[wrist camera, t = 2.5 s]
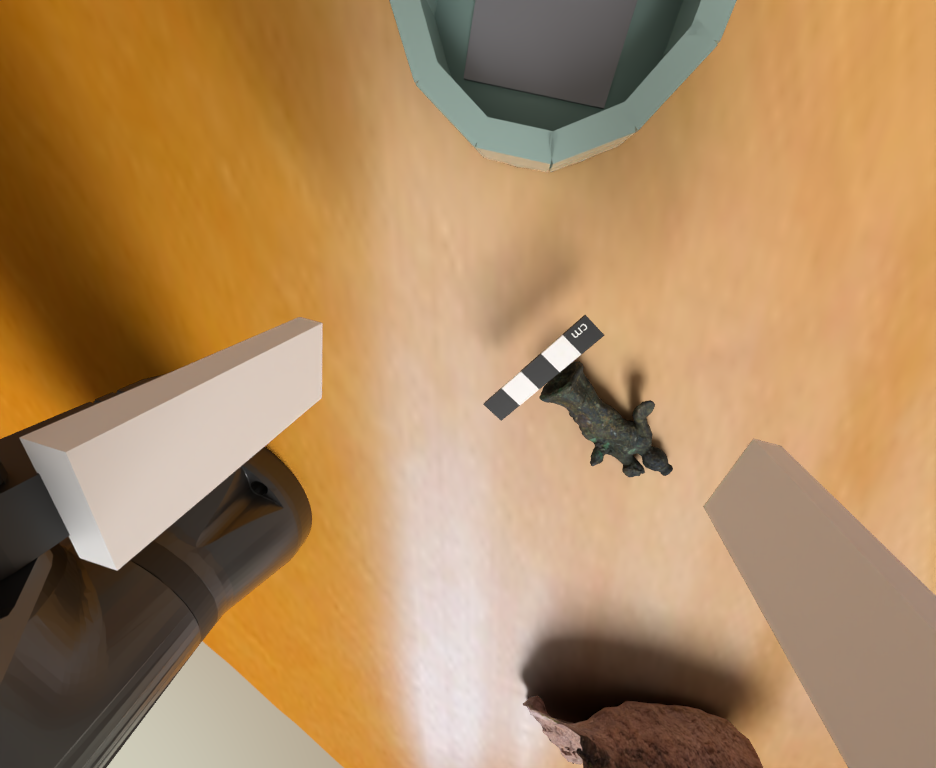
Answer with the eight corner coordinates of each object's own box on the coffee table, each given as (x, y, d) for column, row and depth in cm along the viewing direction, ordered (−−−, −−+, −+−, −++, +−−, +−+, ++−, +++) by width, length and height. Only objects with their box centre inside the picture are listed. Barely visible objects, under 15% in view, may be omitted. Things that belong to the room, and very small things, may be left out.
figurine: (585, 315, 15) (740, 483, 18) (570, 298, 19) (700, 439, 21) (483, 404, 17) (633, 541, 20) (488, 374, 21) (613, 493, 24)
